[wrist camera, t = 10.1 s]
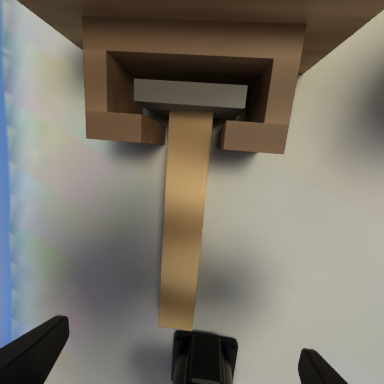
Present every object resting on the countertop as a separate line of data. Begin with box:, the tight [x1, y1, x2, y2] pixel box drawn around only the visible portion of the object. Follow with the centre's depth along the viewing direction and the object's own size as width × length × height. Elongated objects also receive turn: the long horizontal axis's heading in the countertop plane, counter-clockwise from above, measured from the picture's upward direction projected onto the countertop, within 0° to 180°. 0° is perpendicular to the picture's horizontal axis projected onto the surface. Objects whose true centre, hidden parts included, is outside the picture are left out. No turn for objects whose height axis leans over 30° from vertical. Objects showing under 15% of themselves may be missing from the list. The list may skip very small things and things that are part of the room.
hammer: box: [134, 79, 248, 331], centre depth 16 cm, size 19×6×5 cm, turn 175°
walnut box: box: [17, 0, 384, 154], centre depth 12 cm, size 8×16×9 cm, turn 85°
